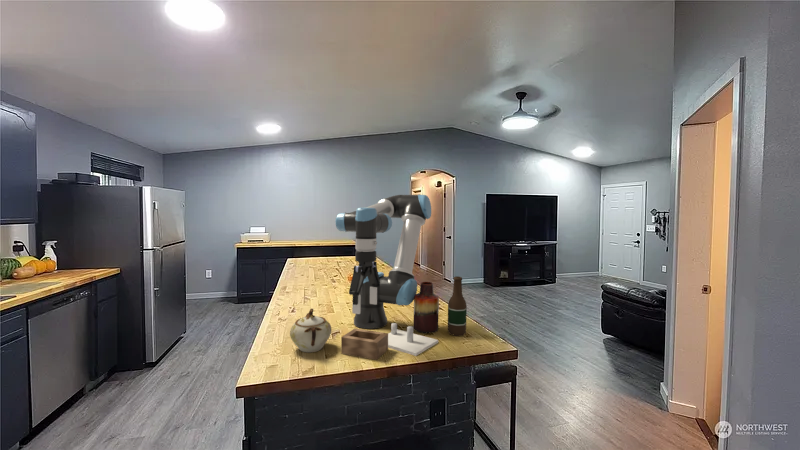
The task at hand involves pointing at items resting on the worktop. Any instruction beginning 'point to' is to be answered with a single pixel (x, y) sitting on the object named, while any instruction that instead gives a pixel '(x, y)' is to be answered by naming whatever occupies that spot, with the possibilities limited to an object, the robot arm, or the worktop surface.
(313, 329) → the sugar bowl
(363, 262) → the robot arm
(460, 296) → the beer bottle
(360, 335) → the frame
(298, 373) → the worktop surface
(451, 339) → the worktop surface
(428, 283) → the vase
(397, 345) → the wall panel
